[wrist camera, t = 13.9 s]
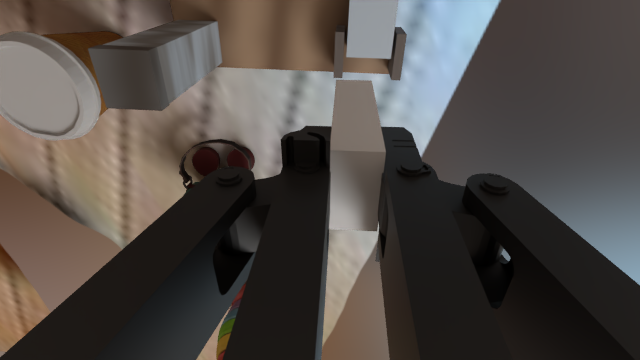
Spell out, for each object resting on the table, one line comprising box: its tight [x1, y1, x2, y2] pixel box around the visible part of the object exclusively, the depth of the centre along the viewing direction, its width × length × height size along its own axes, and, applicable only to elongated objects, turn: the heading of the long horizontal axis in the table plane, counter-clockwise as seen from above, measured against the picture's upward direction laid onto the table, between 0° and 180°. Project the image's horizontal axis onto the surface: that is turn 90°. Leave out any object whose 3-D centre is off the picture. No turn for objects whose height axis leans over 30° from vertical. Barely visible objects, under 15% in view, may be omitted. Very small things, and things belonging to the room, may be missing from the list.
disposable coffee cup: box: [0, 31, 123, 140], centre depth 35 cm, size 10×10×12 cm
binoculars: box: [179, 139, 255, 195], centre depth 42 cm, size 9×11×10 cm
